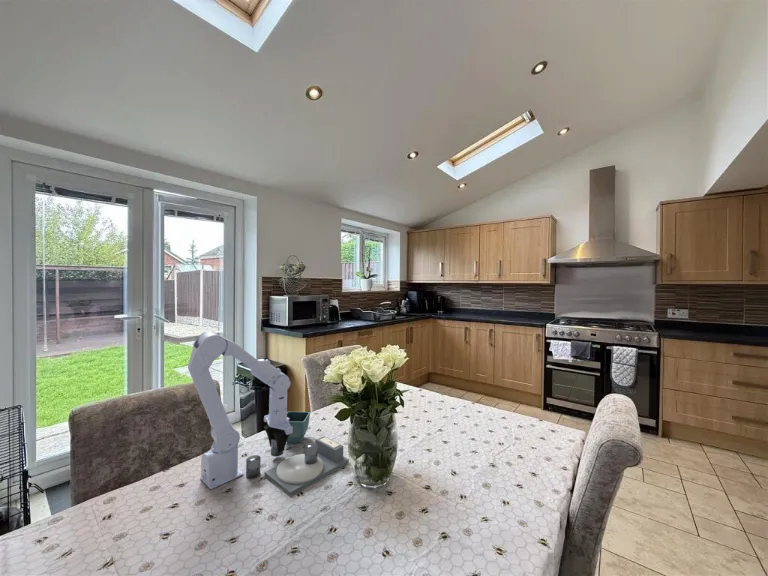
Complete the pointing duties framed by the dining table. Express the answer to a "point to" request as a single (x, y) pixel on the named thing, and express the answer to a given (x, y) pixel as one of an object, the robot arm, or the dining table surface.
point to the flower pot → (298, 425)
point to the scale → (307, 467)
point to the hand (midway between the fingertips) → (277, 448)
